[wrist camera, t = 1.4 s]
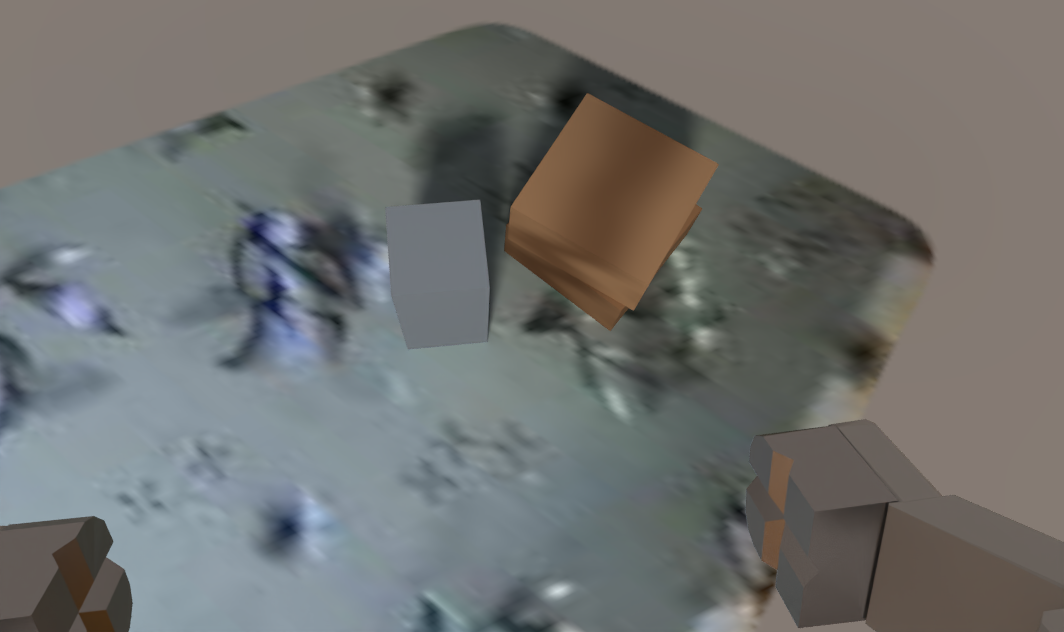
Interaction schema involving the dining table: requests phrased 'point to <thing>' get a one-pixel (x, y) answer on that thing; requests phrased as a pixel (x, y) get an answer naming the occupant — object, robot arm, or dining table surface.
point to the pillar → (439, 273)
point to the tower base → (577, 290)
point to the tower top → (609, 200)
